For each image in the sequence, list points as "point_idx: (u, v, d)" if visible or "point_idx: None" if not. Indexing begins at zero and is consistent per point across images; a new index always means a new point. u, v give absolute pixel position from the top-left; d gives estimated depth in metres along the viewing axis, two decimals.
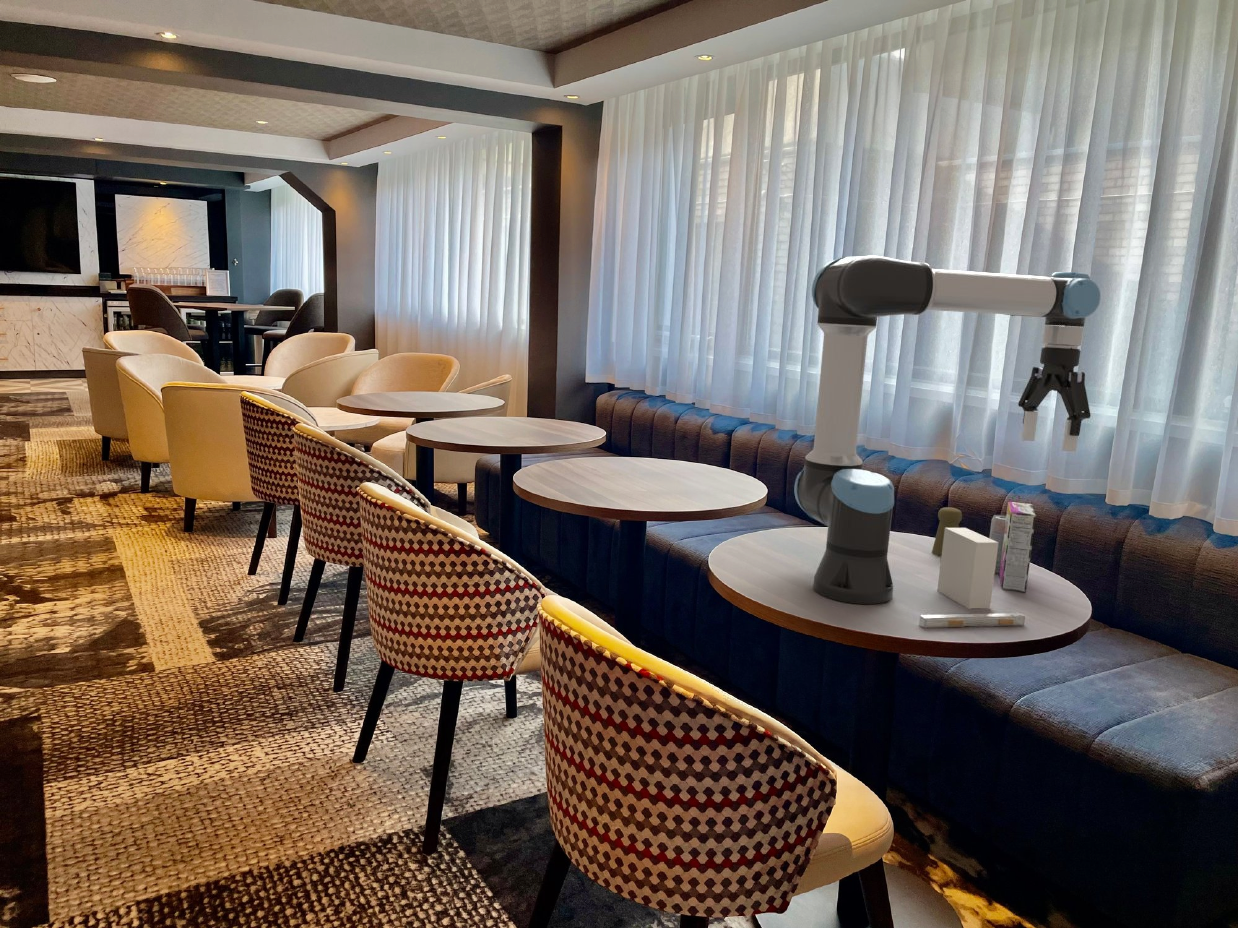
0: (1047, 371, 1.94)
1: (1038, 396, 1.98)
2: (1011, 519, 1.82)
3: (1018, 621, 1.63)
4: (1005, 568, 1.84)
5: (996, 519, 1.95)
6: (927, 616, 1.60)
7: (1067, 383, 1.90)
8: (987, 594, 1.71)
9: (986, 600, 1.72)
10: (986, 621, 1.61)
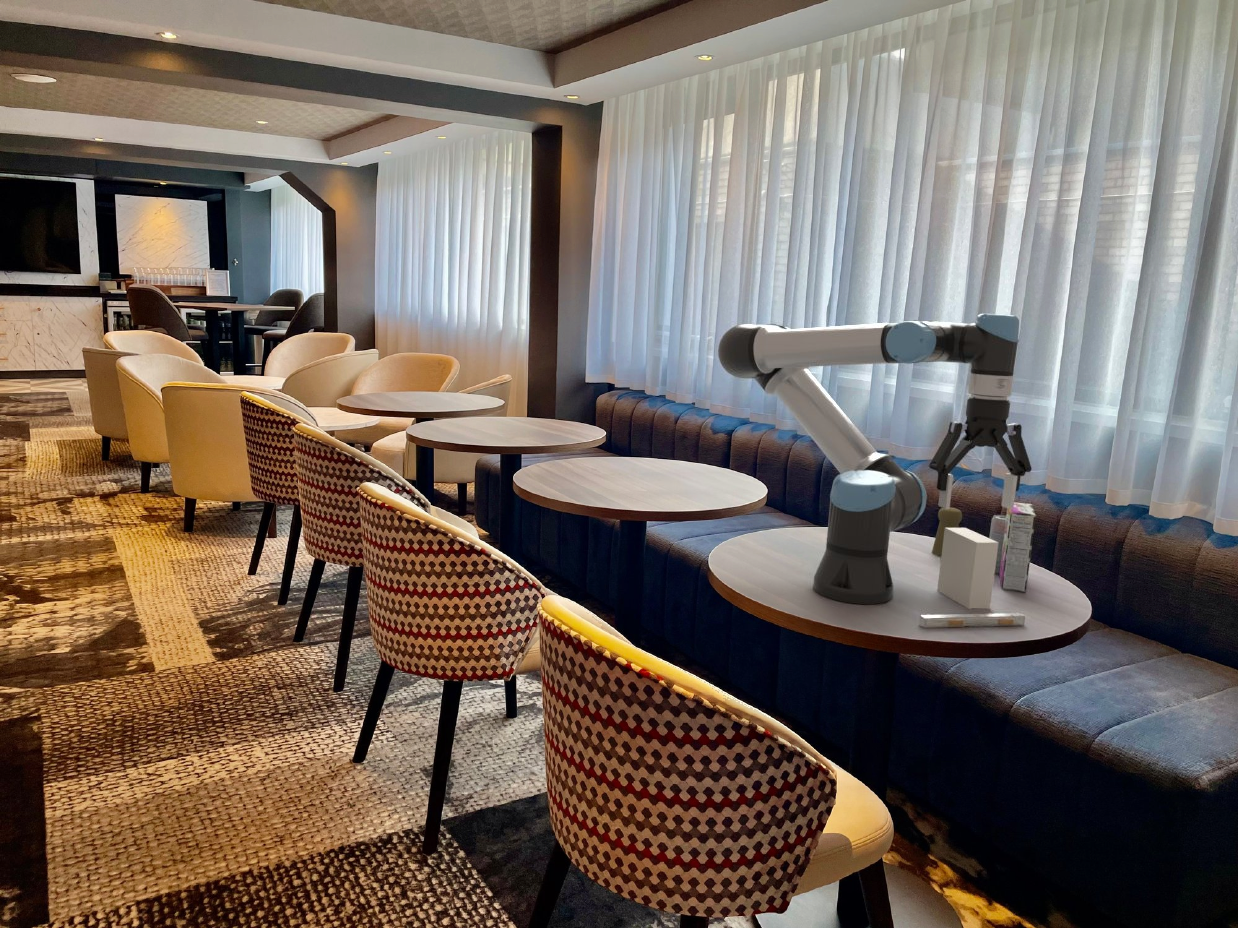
0: None
1: (1001, 455, 1.73)
2: (1011, 519, 1.82)
3: (1018, 621, 1.63)
4: (1005, 568, 1.84)
5: (996, 519, 1.95)
6: (927, 616, 1.60)
7: (971, 436, 1.70)
8: (987, 594, 1.71)
9: (986, 600, 1.71)
10: (986, 621, 1.61)
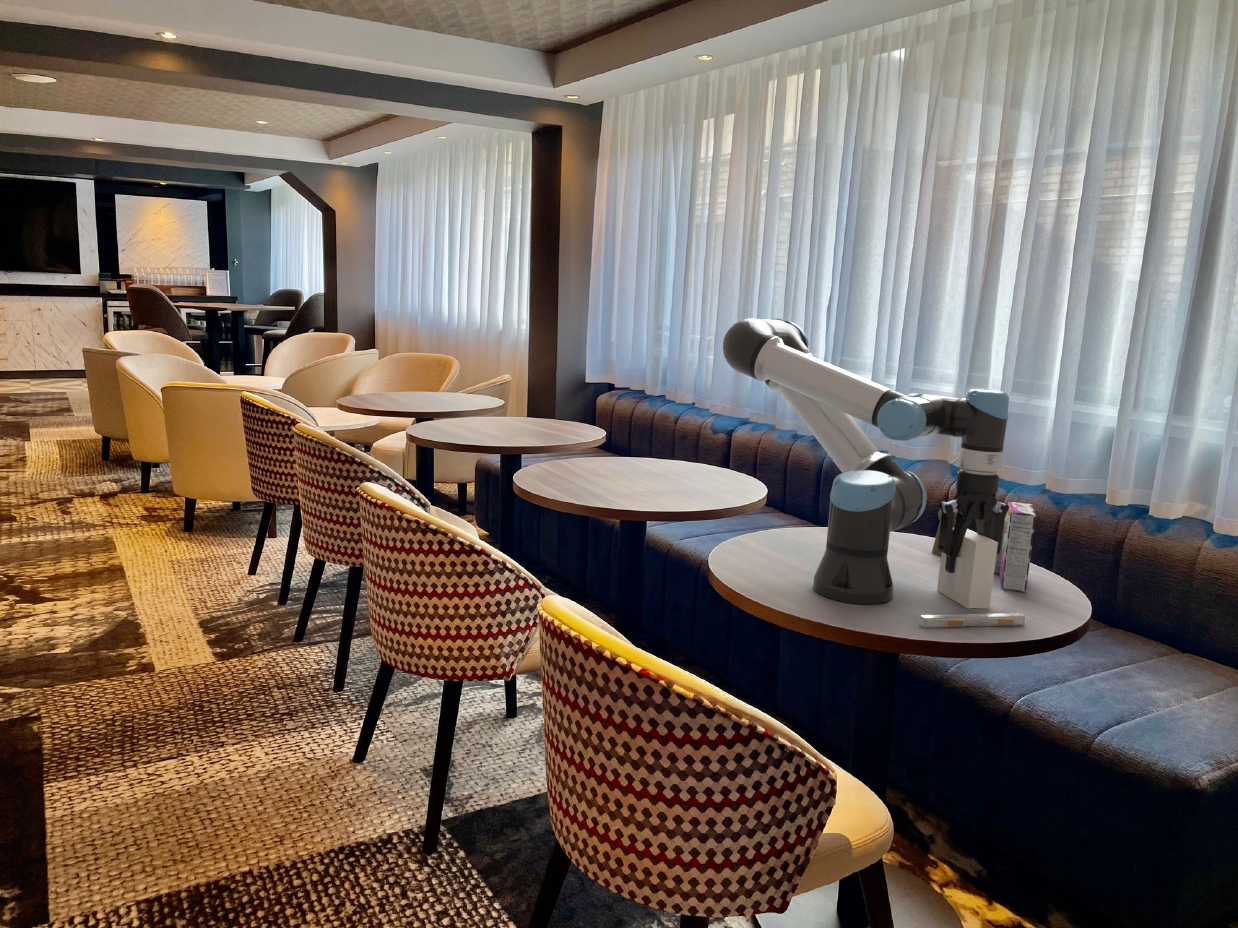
0: None
1: (978, 531, 1.75)
2: (1011, 519, 1.82)
3: (1018, 621, 1.63)
4: (1005, 568, 1.84)
5: None
6: (927, 616, 1.60)
7: None
8: (986, 594, 1.71)
9: (985, 600, 1.71)
10: (986, 621, 1.61)
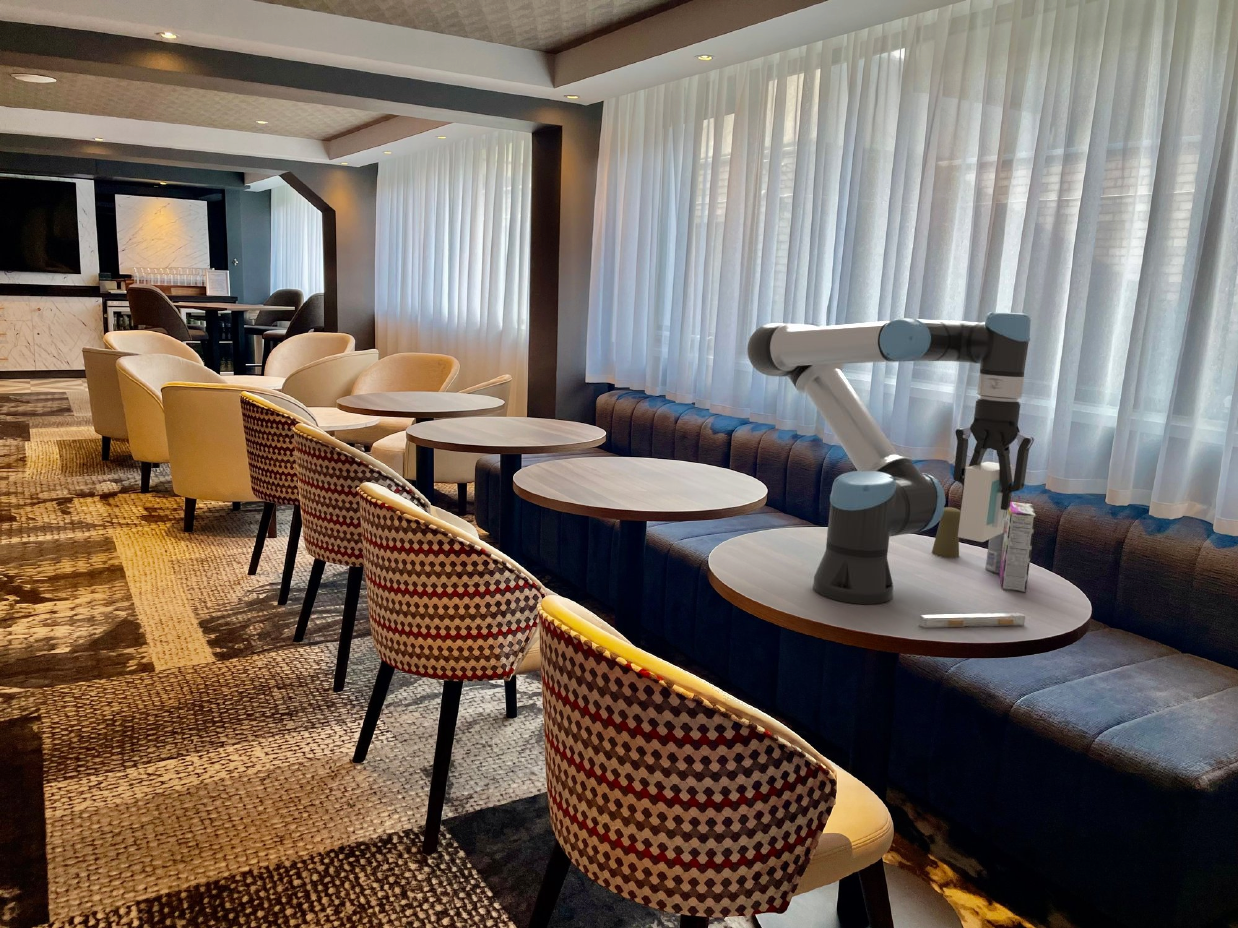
0: None
1: None
2: (1011, 519, 1.82)
3: (1018, 621, 1.63)
4: (1005, 568, 1.84)
5: None
6: (927, 616, 1.60)
7: None
8: (979, 526, 1.63)
9: (978, 532, 1.63)
10: (986, 621, 1.61)
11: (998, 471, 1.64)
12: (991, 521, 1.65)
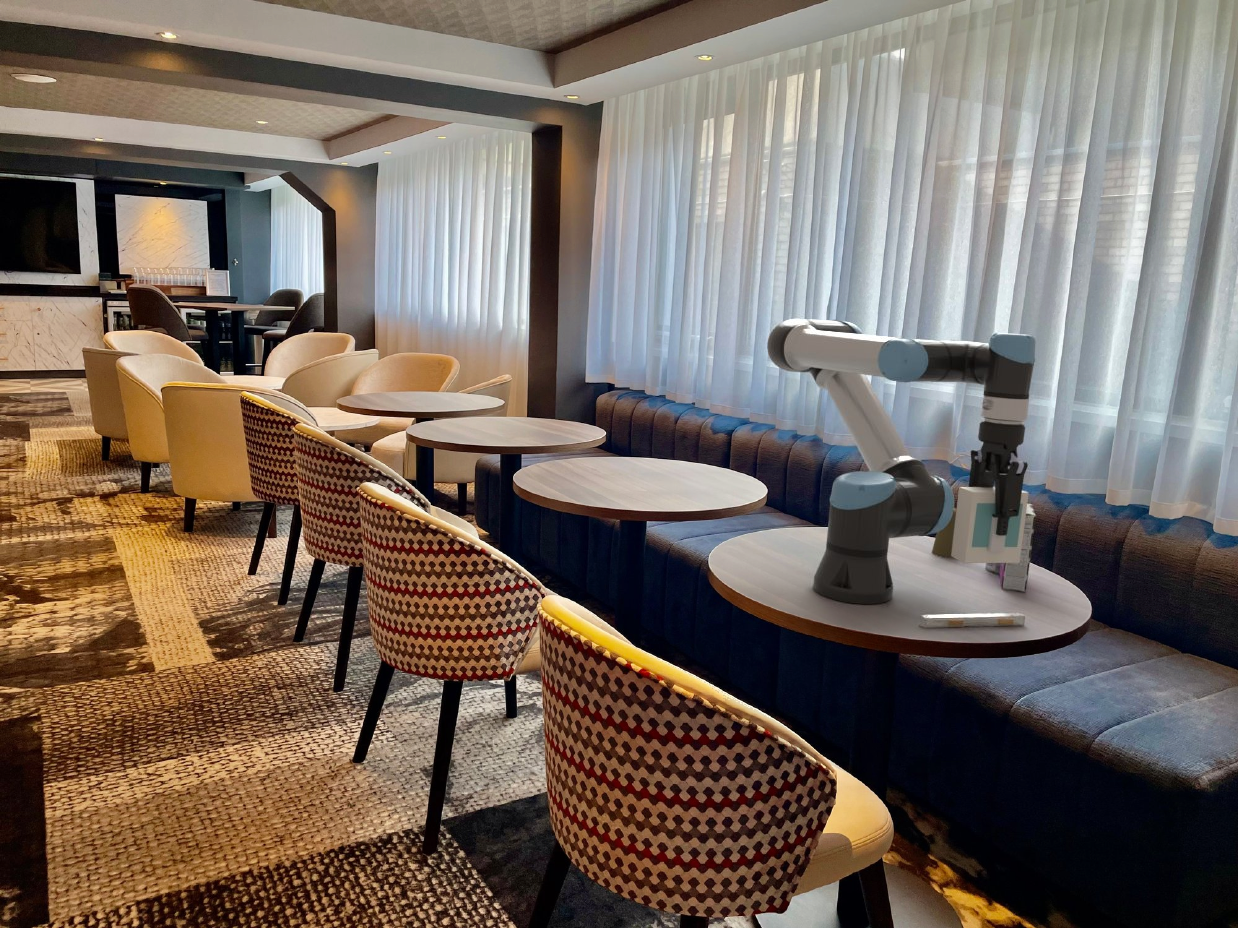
0: None
1: None
2: None
3: (1018, 621, 1.63)
4: (1005, 568, 1.84)
5: None
6: (927, 616, 1.60)
7: None
8: (963, 546, 1.62)
9: (962, 553, 1.62)
10: (986, 621, 1.61)
11: (992, 494, 1.60)
12: (982, 544, 1.62)
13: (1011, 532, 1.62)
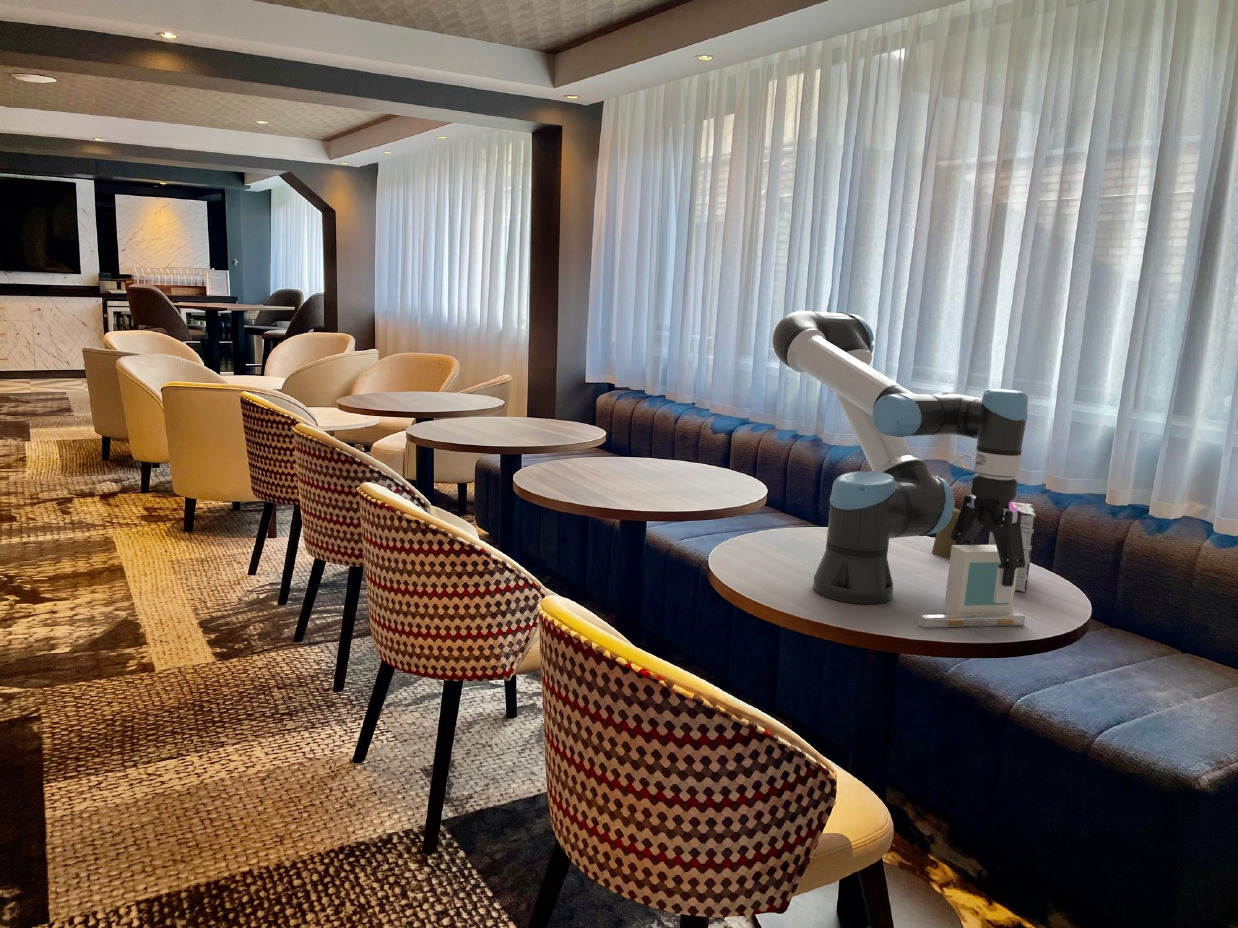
0: None
1: None
2: None
3: (1018, 621, 1.63)
4: None
5: None
6: (927, 616, 1.60)
7: None
8: (956, 604, 1.64)
9: (955, 611, 1.64)
10: (986, 621, 1.61)
11: (984, 553, 1.62)
12: (975, 603, 1.64)
13: None
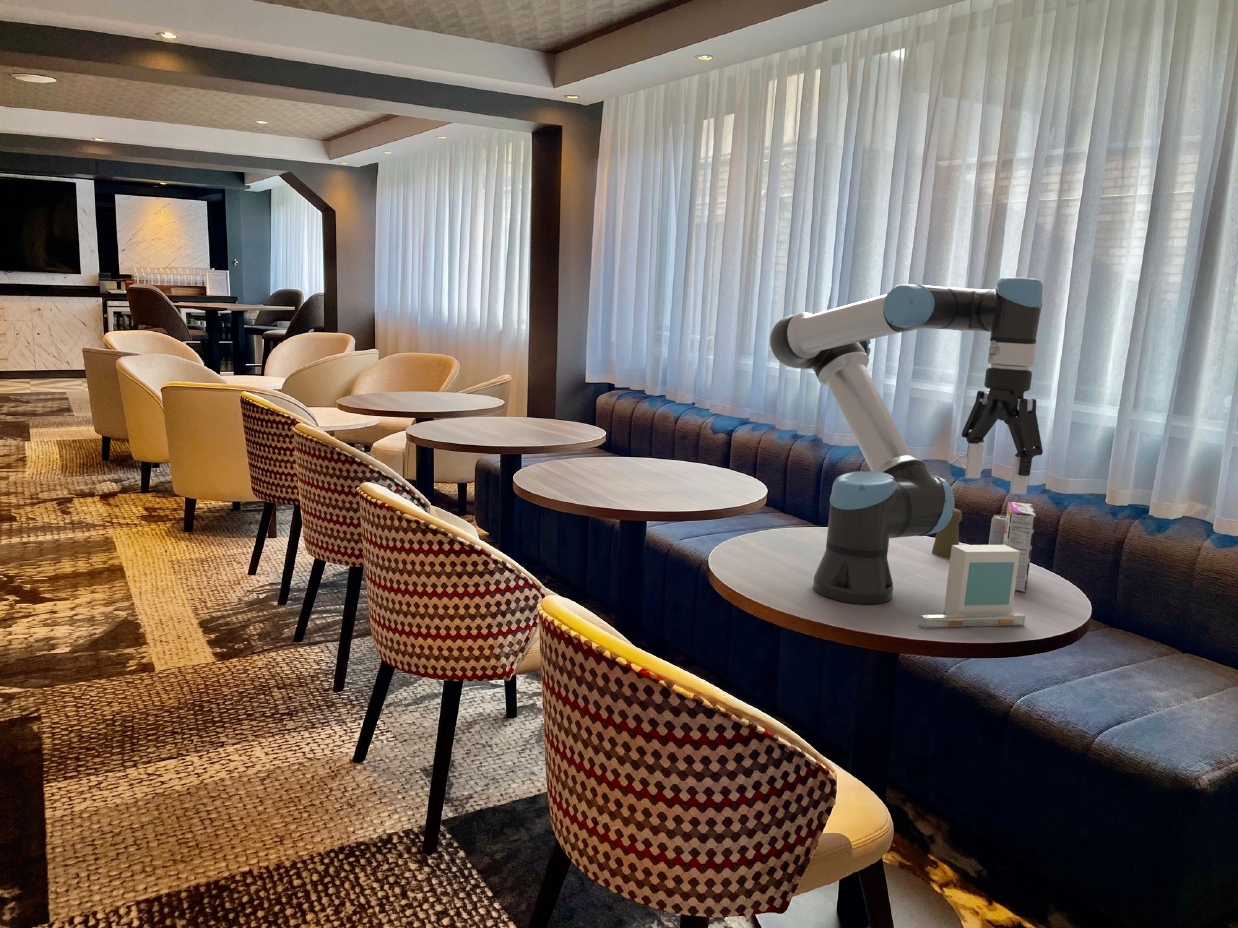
0: None
1: None
2: (1011, 519, 1.82)
3: (1018, 621, 1.63)
4: None
5: (996, 519, 1.95)
6: (927, 616, 1.60)
7: None
8: (956, 604, 1.64)
9: (955, 611, 1.64)
10: (986, 621, 1.61)
11: (984, 553, 1.62)
12: (975, 602, 1.64)
13: (1003, 590, 1.64)
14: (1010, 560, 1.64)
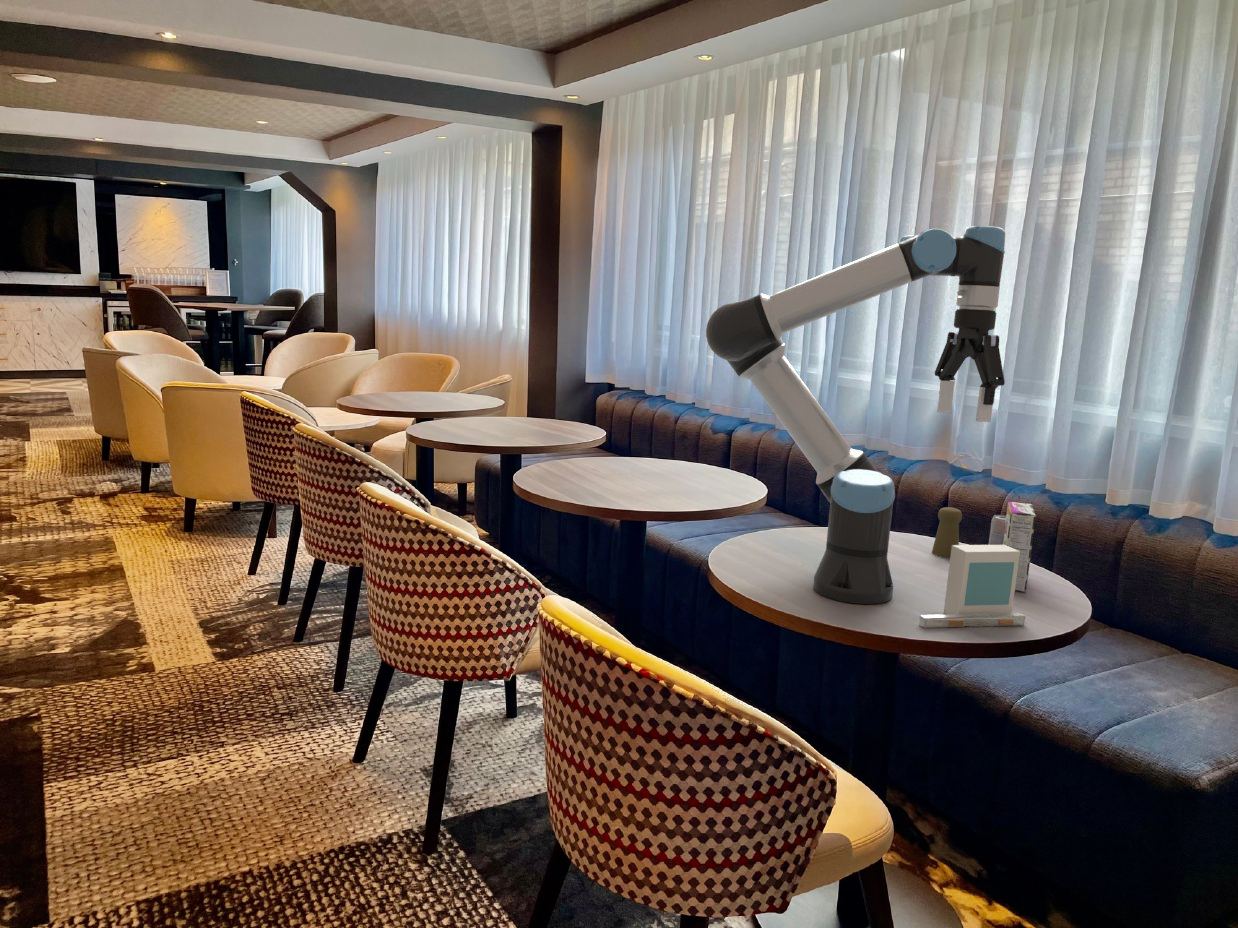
0: None
1: None
2: (1011, 519, 1.82)
3: (1018, 621, 1.63)
4: None
5: (996, 519, 1.95)
6: (927, 616, 1.60)
7: None
8: (956, 604, 1.64)
9: (955, 611, 1.64)
10: (986, 621, 1.61)
11: (984, 553, 1.62)
12: (975, 603, 1.64)
13: (1003, 590, 1.64)
14: (1010, 560, 1.64)
